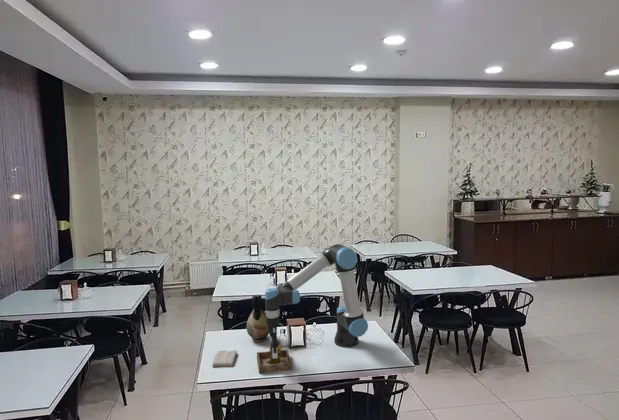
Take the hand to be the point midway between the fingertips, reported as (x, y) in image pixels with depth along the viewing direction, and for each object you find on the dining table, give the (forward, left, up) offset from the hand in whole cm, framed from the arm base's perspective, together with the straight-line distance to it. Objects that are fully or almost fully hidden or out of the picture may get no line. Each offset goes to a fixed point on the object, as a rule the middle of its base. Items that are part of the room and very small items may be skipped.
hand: (273, 352), depth 247 cm
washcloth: (+27, -12, -8) cm, 31 cm away
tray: (0, 0, -7) cm, 7 cm away
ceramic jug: (+6, -37, -7) cm, 38 cm away
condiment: (0, 0, -6) cm, 6 cm away
